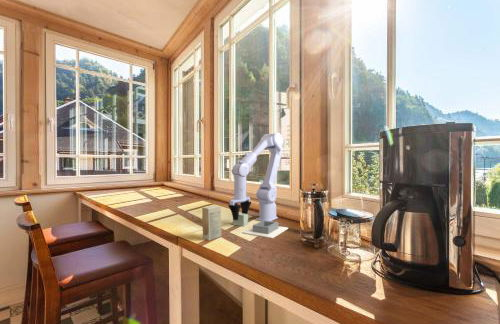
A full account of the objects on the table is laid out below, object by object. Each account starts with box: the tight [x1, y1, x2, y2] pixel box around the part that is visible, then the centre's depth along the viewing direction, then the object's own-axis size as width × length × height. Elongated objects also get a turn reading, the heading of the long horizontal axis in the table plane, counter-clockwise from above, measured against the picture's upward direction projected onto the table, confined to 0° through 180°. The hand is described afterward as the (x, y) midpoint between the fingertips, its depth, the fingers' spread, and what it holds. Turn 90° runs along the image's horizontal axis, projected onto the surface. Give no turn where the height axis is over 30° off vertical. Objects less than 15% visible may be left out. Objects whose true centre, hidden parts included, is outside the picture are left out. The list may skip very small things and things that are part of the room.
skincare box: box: [201, 204, 222, 241], centre depth 99 cm, size 6×4×12 cm
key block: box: [232, 212, 249, 227], centre depth 118 cm, size 4×6×5 cm, turn 59°
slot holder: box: [241, 220, 289, 239], centre depth 108 cm, size 16×14×3 cm
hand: (240, 218), depth 118 cm, fingers open, 7 cm apart
